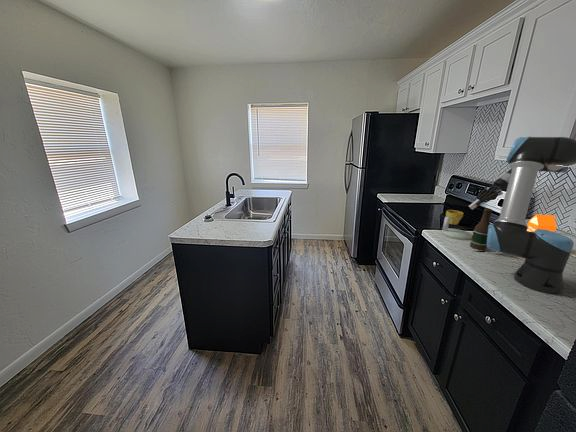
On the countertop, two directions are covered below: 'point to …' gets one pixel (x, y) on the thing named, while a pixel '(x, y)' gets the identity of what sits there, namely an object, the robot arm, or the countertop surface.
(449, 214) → the plant pot
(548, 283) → the robot arm
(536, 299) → the countertop surface
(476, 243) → the beer bottle
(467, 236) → the capstan dial
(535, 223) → the orange juice
